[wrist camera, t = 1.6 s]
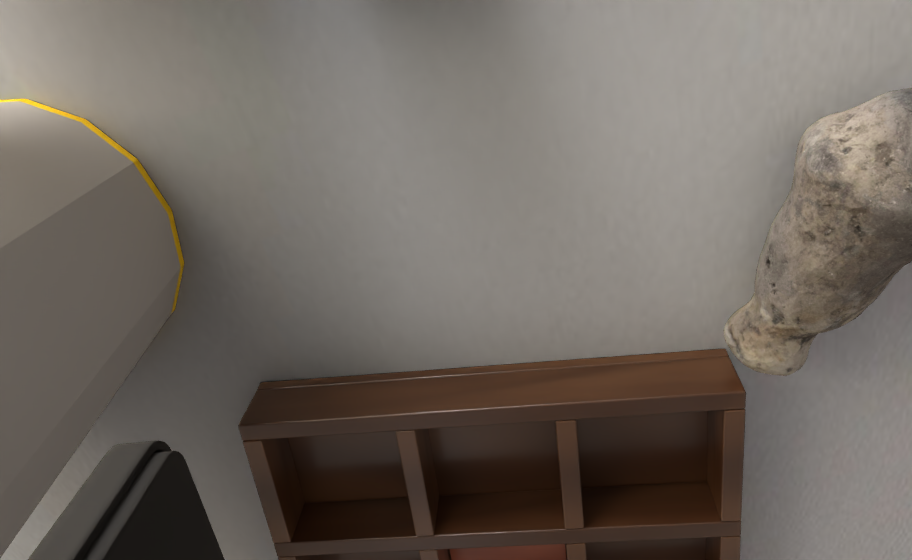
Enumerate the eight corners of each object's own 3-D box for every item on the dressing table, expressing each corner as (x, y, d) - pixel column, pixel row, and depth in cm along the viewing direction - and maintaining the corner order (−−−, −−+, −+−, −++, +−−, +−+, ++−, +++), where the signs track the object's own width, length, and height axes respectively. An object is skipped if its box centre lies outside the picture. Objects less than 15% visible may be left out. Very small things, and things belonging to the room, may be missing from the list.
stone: (760, 349, 32) (991, 387, 26) (689, 381, 28) (938, 434, 22) (764, 102, 30) (1012, 82, 24) (688, 103, 26) (959, 79, 20)
